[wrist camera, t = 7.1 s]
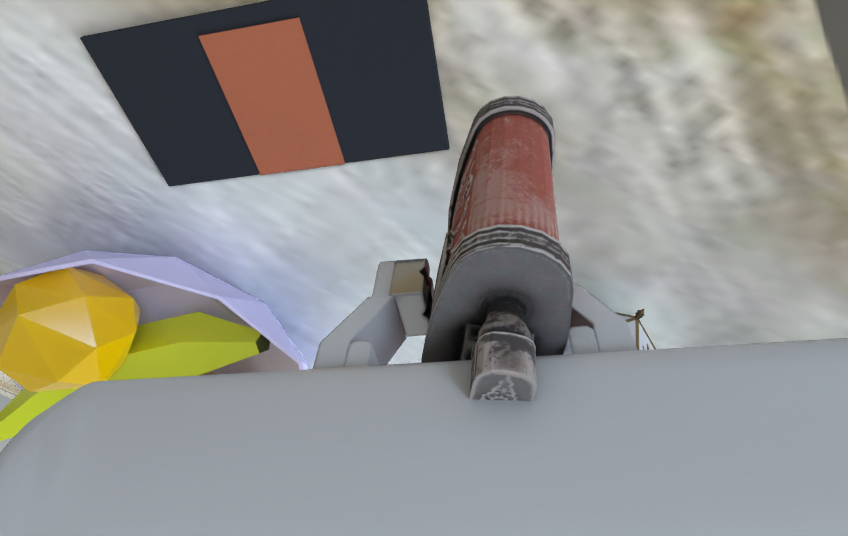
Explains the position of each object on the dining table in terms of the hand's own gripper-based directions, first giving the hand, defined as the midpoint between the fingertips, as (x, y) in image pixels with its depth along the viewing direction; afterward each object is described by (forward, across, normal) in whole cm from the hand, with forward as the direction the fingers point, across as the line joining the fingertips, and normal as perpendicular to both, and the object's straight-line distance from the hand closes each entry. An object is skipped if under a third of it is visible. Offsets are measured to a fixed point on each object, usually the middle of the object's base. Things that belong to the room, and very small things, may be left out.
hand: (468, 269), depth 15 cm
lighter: (+4, -1, 0) cm, 4 cm away
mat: (+17, +12, 0) cm, 21 cm away
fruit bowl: (+18, +30, +19) cm, 39 cm away
